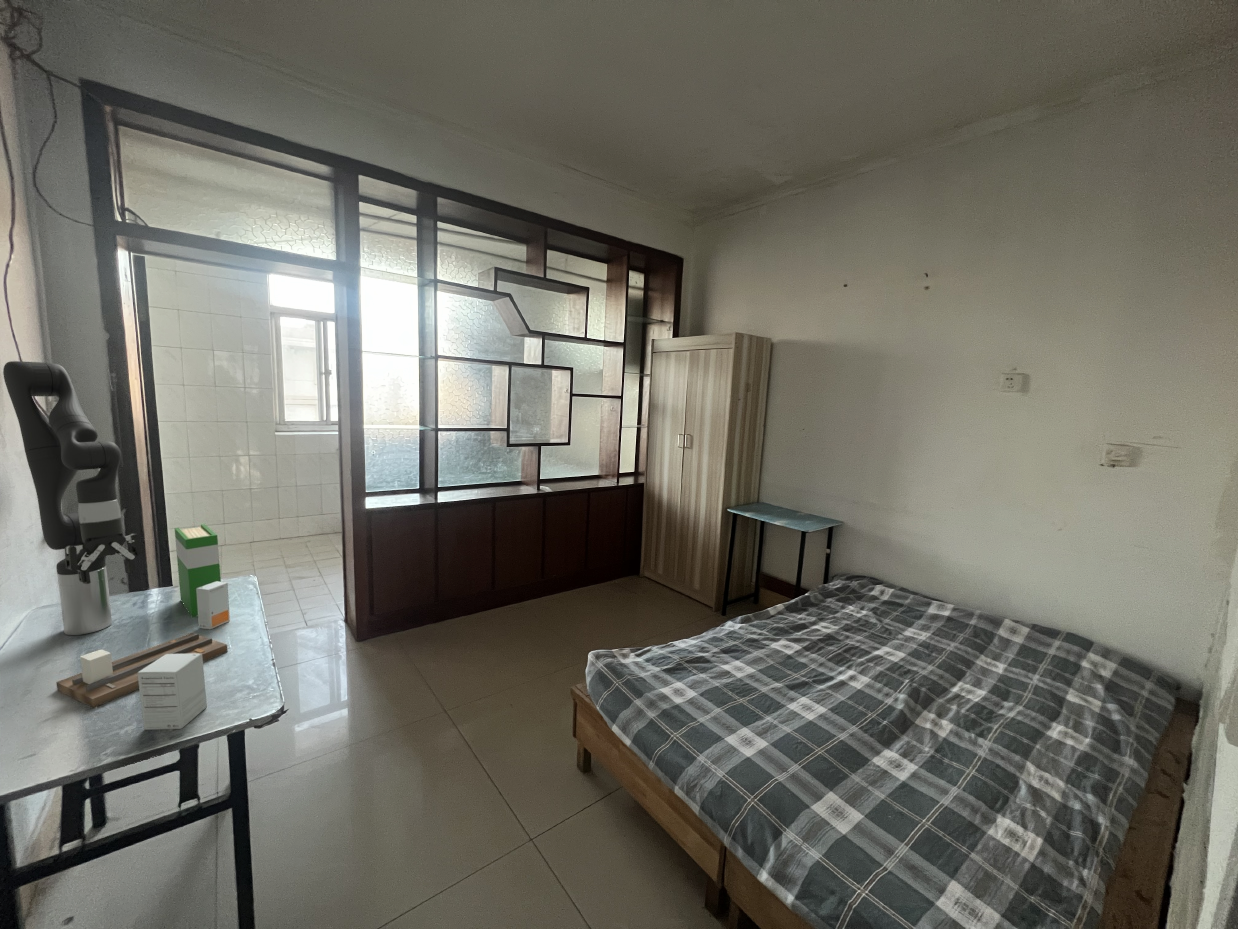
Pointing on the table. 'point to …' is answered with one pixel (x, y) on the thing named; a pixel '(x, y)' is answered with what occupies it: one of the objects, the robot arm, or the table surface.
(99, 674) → the fader tab
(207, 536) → the hardback book
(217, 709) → the table surface
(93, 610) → the robot arm
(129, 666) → the fader console
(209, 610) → the skincare box
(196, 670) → the supplement box
